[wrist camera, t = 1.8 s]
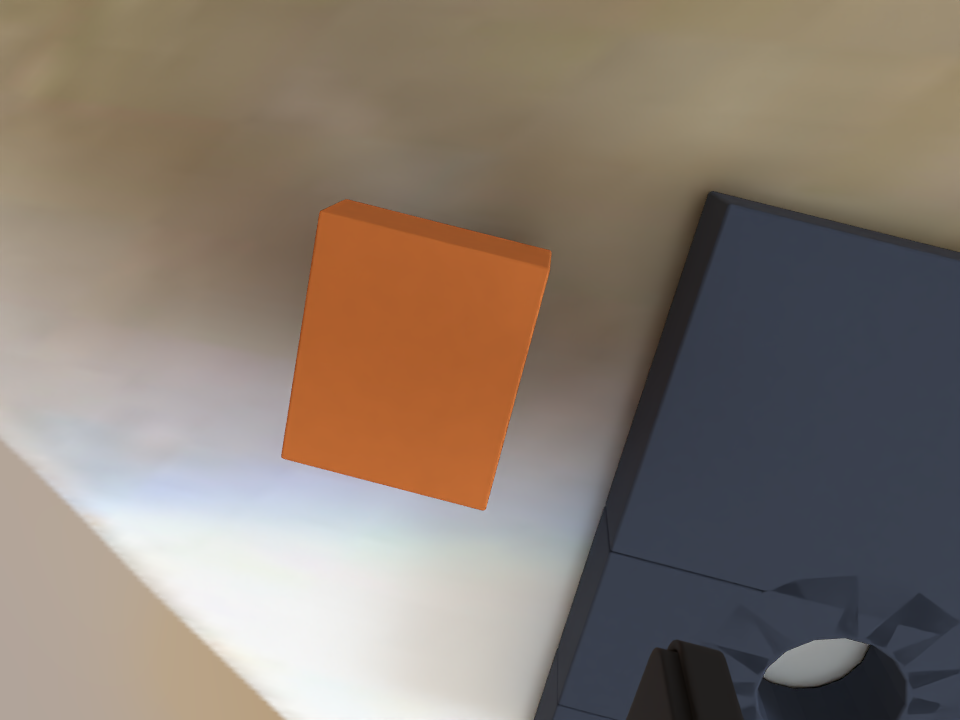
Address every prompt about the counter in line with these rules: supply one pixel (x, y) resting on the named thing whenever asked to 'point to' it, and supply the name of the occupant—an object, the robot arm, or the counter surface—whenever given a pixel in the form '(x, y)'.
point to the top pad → (411, 351)
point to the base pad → (786, 477)
